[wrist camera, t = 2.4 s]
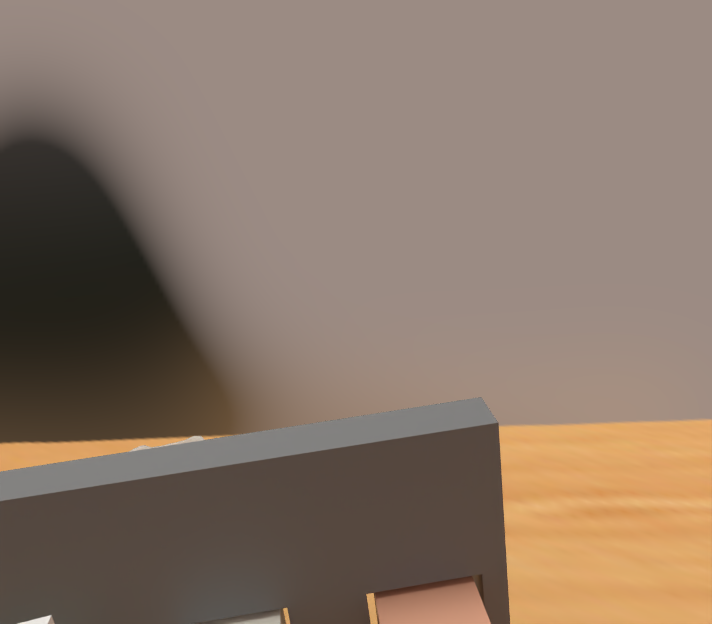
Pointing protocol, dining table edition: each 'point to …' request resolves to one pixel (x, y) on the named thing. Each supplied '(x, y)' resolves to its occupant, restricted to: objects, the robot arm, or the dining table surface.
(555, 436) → the dining table surface
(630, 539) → the dining table surface
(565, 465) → the dining table surface
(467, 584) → the terracotta button
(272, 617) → the ivory button
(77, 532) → the button panel
